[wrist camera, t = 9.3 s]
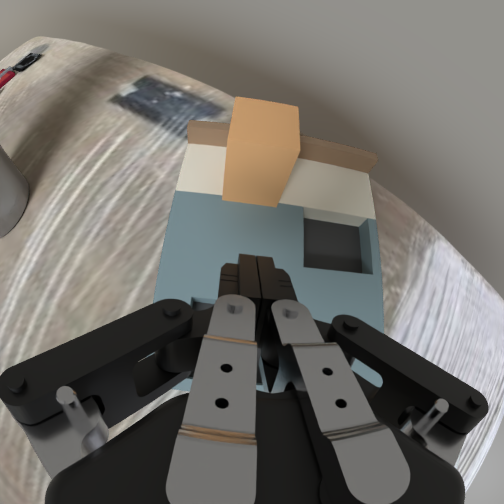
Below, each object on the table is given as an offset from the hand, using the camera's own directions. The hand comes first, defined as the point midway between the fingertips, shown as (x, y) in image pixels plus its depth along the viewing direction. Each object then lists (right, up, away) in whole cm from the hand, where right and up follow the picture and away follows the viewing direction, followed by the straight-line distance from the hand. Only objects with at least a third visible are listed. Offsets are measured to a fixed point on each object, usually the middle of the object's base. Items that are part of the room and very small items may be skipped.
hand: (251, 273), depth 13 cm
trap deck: (+2, 0, +14) cm, 14 cm away
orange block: (0, +8, +14) cm, 16 cm away
